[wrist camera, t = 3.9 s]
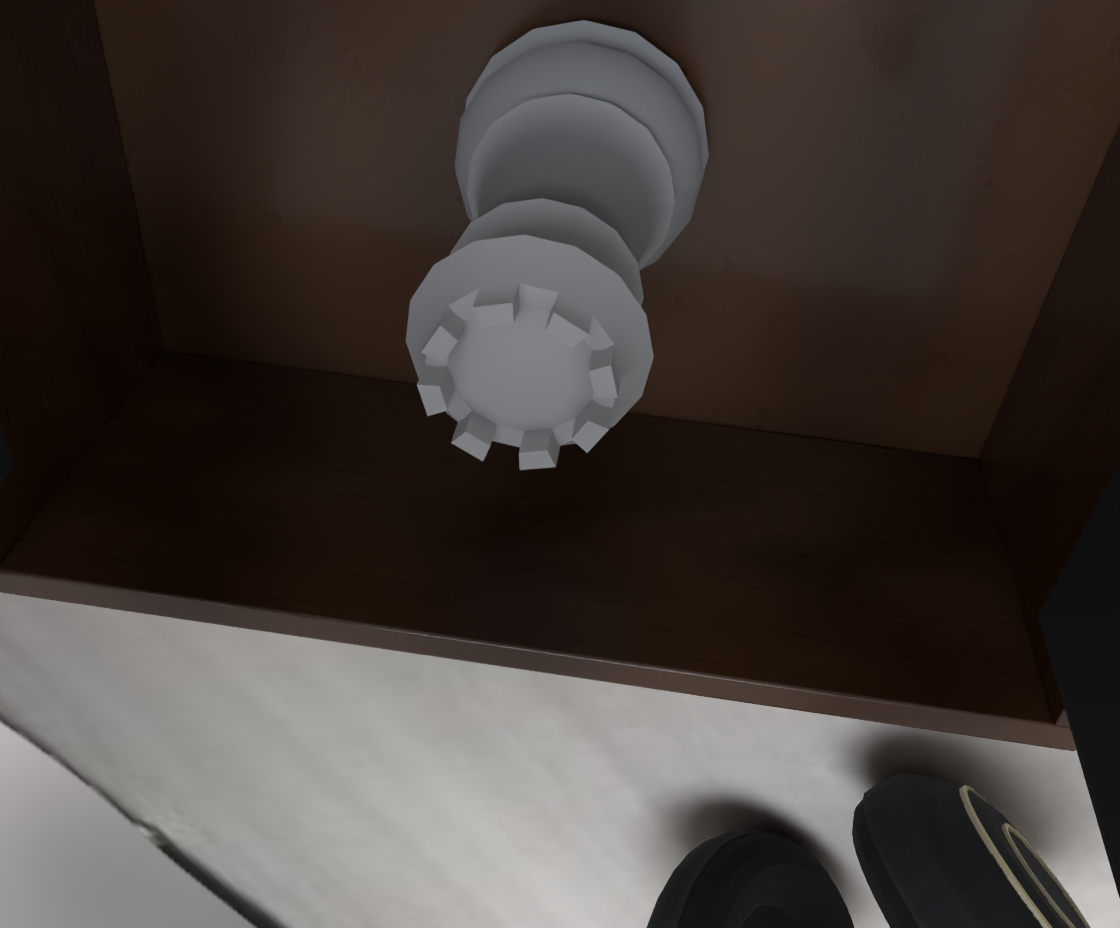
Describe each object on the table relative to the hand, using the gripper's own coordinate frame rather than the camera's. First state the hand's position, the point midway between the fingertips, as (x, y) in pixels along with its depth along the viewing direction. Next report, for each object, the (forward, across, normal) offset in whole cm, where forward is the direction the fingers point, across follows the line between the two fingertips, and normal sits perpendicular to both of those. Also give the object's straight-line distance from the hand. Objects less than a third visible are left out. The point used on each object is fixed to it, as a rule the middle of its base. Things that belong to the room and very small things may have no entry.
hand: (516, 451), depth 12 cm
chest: (+10, 0, 0) cm, 10 cm away
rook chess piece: (+9, 0, 0) cm, 9 cm away
